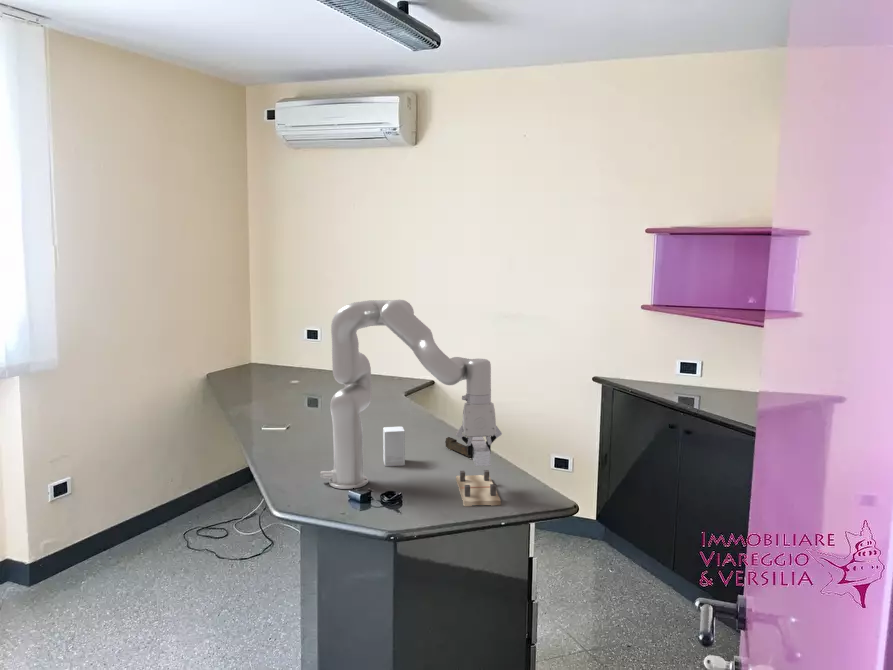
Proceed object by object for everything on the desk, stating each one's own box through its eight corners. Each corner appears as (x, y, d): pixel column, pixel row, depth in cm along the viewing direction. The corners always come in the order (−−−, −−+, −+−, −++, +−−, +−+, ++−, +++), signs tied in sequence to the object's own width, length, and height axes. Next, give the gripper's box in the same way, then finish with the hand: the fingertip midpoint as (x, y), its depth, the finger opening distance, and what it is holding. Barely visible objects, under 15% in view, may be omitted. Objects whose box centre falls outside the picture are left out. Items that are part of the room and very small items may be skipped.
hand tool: (478, 458, 250) (478, 446, 250) (469, 460, 248) (469, 447, 248) (451, 446, 266) (452, 435, 266) (443, 448, 264) (443, 436, 264)
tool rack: (464, 506, 201) (464, 491, 201) (456, 480, 225) (456, 467, 225) (500, 505, 202) (500, 490, 202) (488, 479, 226) (489, 466, 225)
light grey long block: (475, 466, 201) (475, 451, 201) (468, 449, 219) (468, 435, 218) (490, 465, 201) (490, 451, 201) (482, 449, 219) (482, 435, 219)
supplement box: (405, 465, 241) (405, 431, 240) (384, 466, 240) (384, 431, 238) (403, 459, 248) (402, 425, 247) (383, 460, 247) (382, 426, 246)
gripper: (452, 402, 204) (453, 461, 206) (507, 400, 205) (507, 459, 207) (450, 397, 211) (451, 454, 213) (503, 395, 213) (503, 452, 215)
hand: (479, 456), depth 210 cm, fingers closed on light grey long block, 4 cm apart
